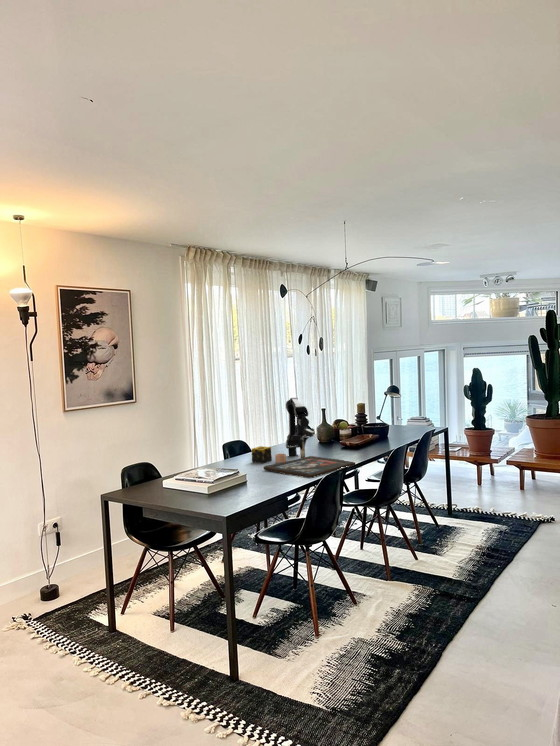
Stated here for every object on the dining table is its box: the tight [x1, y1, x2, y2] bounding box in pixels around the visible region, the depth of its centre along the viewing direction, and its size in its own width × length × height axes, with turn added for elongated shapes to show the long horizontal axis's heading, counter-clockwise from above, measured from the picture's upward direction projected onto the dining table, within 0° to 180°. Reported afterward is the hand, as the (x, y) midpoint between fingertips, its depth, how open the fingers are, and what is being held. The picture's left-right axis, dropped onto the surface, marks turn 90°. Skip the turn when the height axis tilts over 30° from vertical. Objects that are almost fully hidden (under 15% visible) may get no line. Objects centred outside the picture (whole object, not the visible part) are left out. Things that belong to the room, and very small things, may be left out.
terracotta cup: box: [274, 453, 287, 464], centre depth 372 cm, size 7×7×6 cm
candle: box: [251, 445, 273, 464], centre depth 378 cm, size 10×10×10 cm
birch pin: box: [299, 442, 306, 458], centre depth 361 cm, size 3×3×10 cm
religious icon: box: [263, 455, 356, 478], centre depth 350 cm, size 40×45×3 cm
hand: (302, 449), depth 361 cm, fingers closed on birch pin, 3 cm apart
